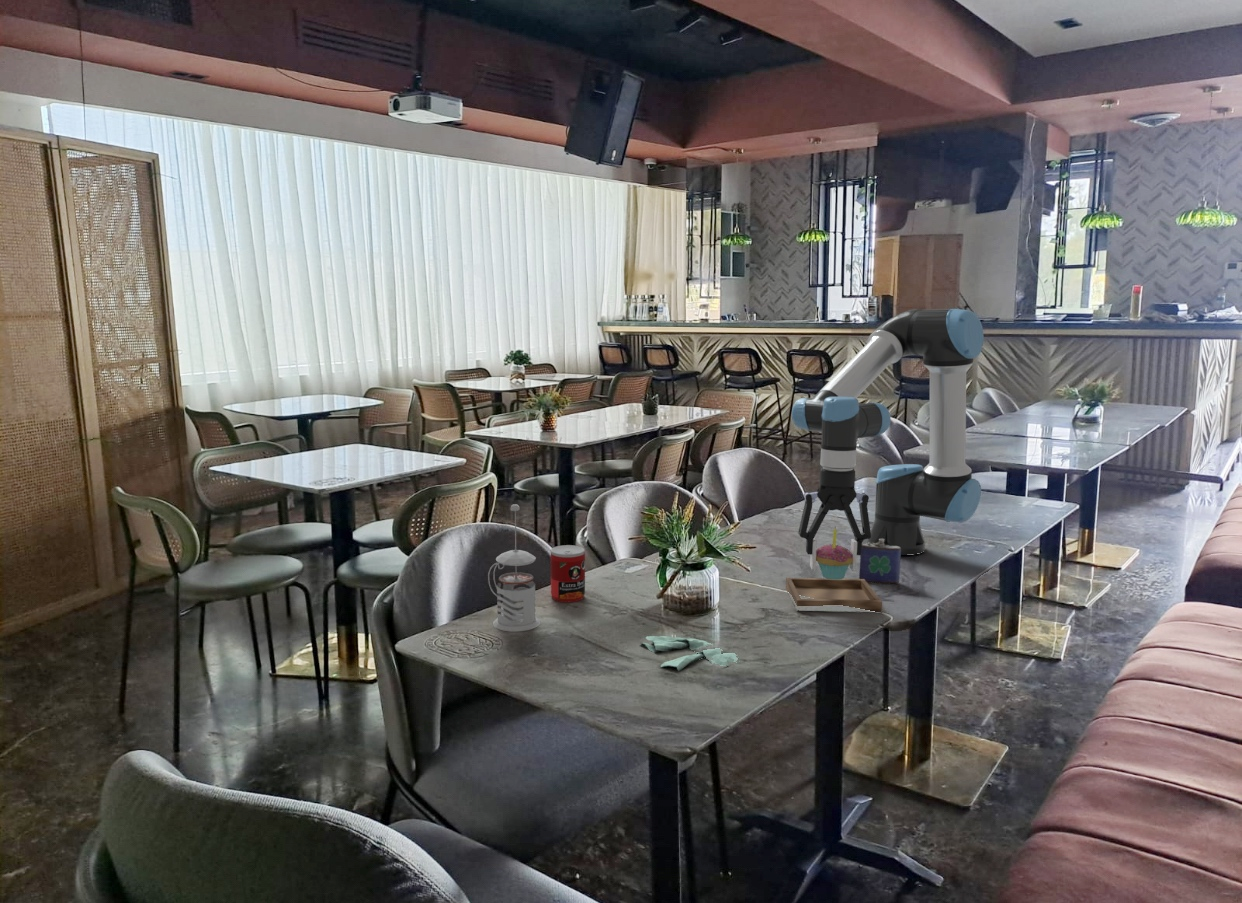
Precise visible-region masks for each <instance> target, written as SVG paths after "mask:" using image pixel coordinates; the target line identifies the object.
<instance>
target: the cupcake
mask: <svg viewBox="0 0 1242 903" xmlns="http://www.w3.org/2000/svg"><path fill="white" fill-rule="evenodd" d="M836 527H837V526H836V525H835V526H834V528H833V531H832V532H833V533H832V534H833V535H832V544H831V543H830V544H825V545H823V546H821V547H819V548H816V563H818V566H819V569H820V571H821V576H822V578H827V579H834V580H838V579H845V577H846V574H847V571H848V569H849V568H850V564H851V563H853V554H852V553H851V550H849V549H848V548H846V547H843V546H841V545H840V544H837V531H838V530H837V528H836Z"/></svg>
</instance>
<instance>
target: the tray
mask: <svg viewBox="0 0 1242 903" xmlns="http://www.w3.org/2000/svg"><path fill="white" fill-rule="evenodd" d="M785 589H786V592H787V593H788V592H789V593H790V594H791V595H792V597H793V599H794V601H795V603H796V605H797V606H823V605H843V606H849V607H855V608H860V609H865V610H870V611H875V612H881V613H882V612H883V610H882V608H883V607H882V606H883V602H882V600H881V599H880V597H879V595H877V593H876V592H875V591H874V589H873V588H872V587H871V586H870V584H869V583H867V582H866V581H865V579H859V578H843V579H838V580H834V579H827V578H825V577H822V578H820V577H819V578H818V577H817V578H816V577H814V578H813V577H785ZM799 595H801V596H805V597H810V598H814V599H801V598H800V596H799Z"/></svg>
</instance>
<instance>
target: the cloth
mask: <svg viewBox="0 0 1242 903" xmlns="http://www.w3.org/2000/svg"><path fill="white" fill-rule="evenodd" d="M645 639H646V640H647V641H649V642H650V641H651V644H649V643H646V642H641V643H640V644H639V647H646V649H648V650H649V651H650V652H652V653H654V654H656V653H663V652H671V651H675V650H687V649H688V648H689V650H690V649H691V650H690V651H692V649H699V648H701V647H706V646H708V645H713V644H714V643H712V644H711V642H710V643H709V642H708V641H706V640H701V639H698V638H697V639H696V638H685V637H680V636H679V637H678V636H677V637H672V636H669V635H668V636H667V635H665V636H664V635H662V636H660V635H659V636H657V635H652V636H651V635H649V636H646V637H645ZM721 651H723V650H722V649H720V648H715V649H707V650H703V651H701V652H696V653H695V651H694V653H693V654H689V655H688V654H687V655H684V656H680V657H677V658H675V659H672V660H671V659H670V660H668V661H664V662H663V663H662V664H660V668H664V667H668V669H670V670H673V671H674V670H675V671H676V672H680V671H682V670H684V668H685V667H686V666H688V665H689V666H690V665H691V664H694V663H696V662H698V661H697V660H699V659H701V658H703V659H709V658H711V657H712V658H714V659H713V660H711V661H712V663H715V664H719V665H720V666H726V665H728V663H731V662H736V661H737V660H738V658H739V657H738V658H737V657H736V656H738V654H737V655H736V654H735V653H723V654H721ZM697 653H698V654H697ZM704 657H706V658H704ZM701 660H702V659H701ZM695 661H696V662H695ZM699 661H700V660H699ZM693 662H694V663H693ZM736 663H737V662H736Z"/></svg>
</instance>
